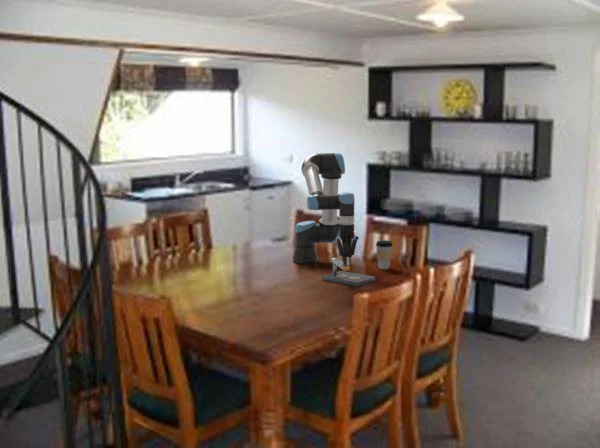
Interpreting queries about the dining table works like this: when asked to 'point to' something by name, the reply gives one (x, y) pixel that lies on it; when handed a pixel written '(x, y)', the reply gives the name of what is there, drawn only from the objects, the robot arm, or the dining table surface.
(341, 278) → the chassis
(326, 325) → the dining table surface
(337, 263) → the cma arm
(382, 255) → the coffee cup
